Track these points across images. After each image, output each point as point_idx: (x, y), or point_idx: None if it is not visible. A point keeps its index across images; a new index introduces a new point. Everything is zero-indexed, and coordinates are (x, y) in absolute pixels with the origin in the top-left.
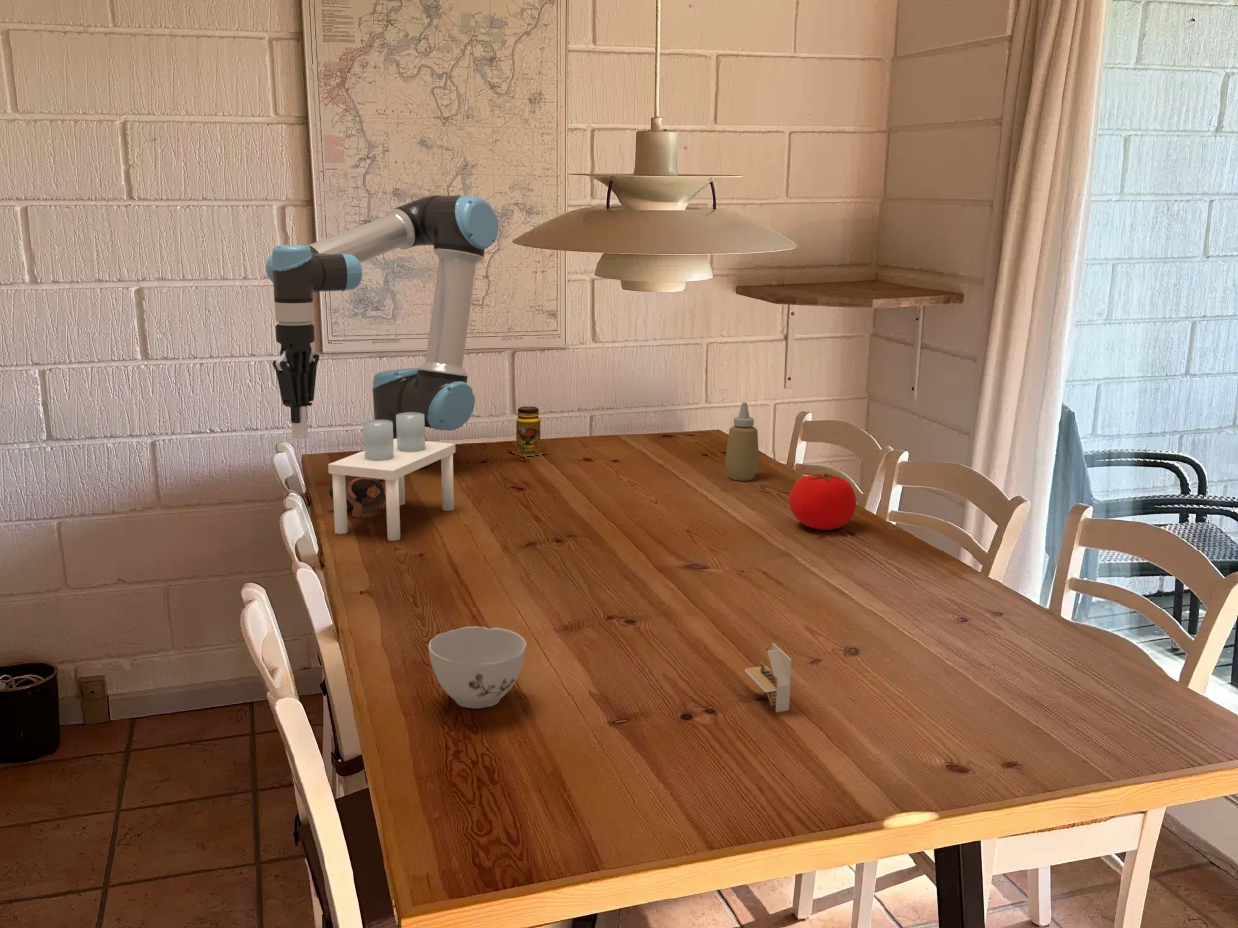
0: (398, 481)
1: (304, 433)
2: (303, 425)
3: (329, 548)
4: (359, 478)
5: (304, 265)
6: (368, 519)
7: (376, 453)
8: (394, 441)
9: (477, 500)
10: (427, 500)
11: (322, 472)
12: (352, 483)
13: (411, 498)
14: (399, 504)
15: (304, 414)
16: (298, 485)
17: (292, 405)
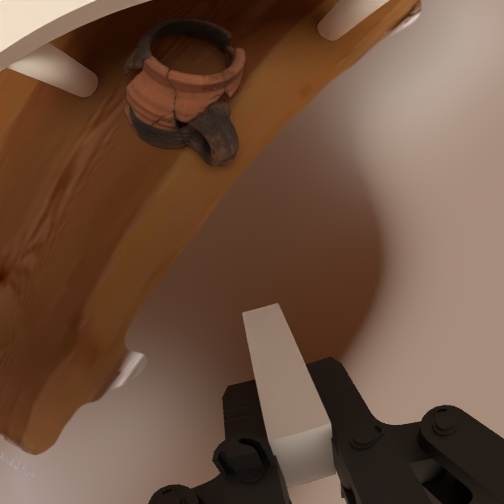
0: (72, 58)
1: (272, 319)
2: (288, 342)
3: (398, 4)
4: (177, 74)
5: None
6: None
7: None
8: (12, 24)
9: None
10: None
11: (58, 400)
12: (212, 74)
13: (41, 104)
14: (94, 73)
15: (287, 392)
16: (133, 378)
17: (445, 411)
